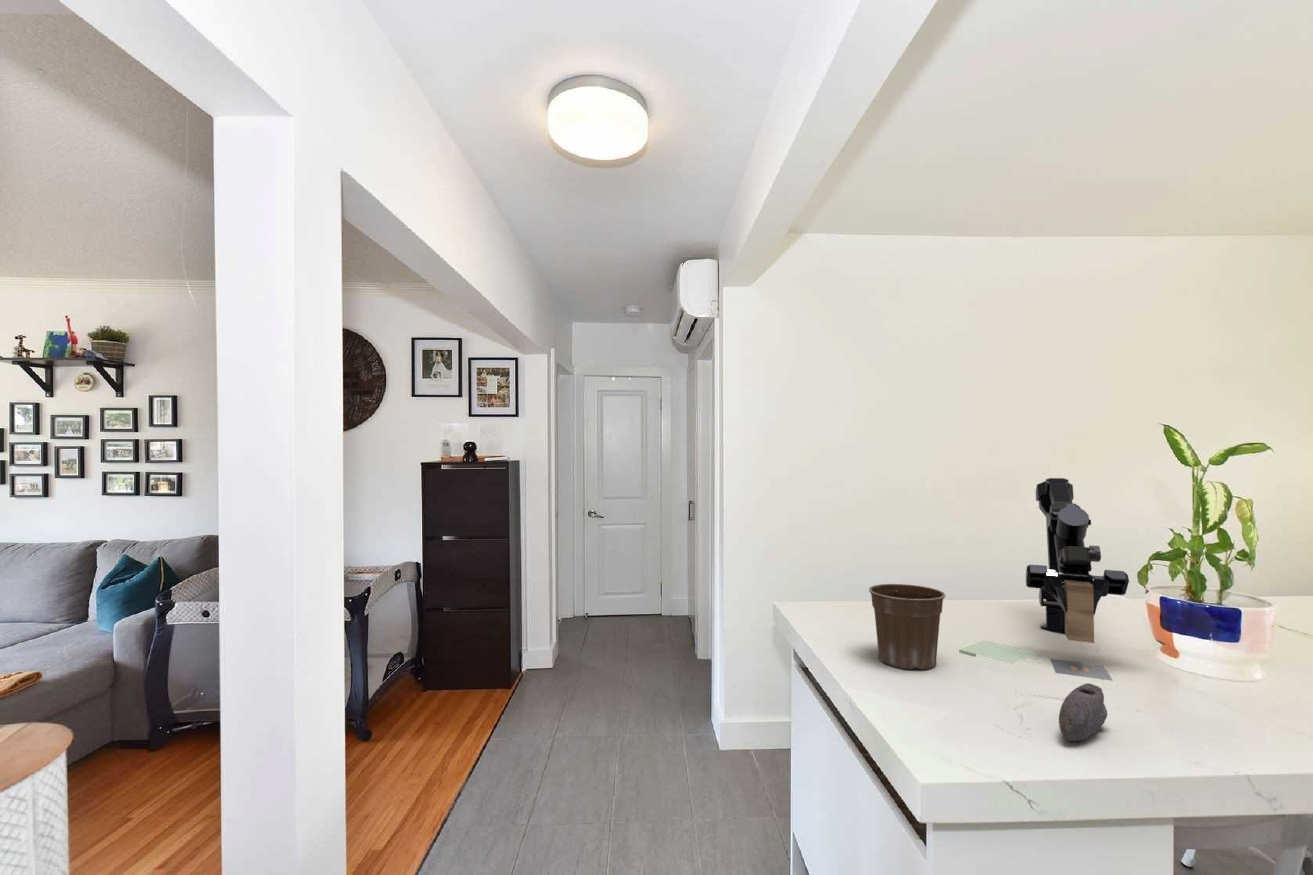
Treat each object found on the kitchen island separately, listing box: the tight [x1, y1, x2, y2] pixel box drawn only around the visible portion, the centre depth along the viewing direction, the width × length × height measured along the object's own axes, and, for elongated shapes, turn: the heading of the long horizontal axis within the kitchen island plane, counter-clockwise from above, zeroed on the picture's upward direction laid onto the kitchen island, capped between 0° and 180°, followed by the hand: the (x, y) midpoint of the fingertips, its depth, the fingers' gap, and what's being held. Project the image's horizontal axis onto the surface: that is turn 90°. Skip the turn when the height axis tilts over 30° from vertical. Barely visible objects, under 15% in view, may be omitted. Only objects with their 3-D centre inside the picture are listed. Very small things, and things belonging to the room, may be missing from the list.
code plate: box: [1049, 658, 1114, 681], centre depth 133 cm, size 10×10×1 cm
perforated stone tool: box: [1058, 682, 1108, 742], centre depth 105 cm, size 15×5×7 cm, turn 128°
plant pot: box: [868, 583, 946, 671], centre depth 140 cm, size 16×16×16 cm
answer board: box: [959, 639, 1037, 665], centre depth 145 cm, size 12×12×1 cm
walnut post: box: [1064, 580, 1095, 644], centre depth 133 cm, size 5×5×12 cm
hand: (1079, 612), depth 132 cm, fingers closed on walnut post, 5 cm apart
